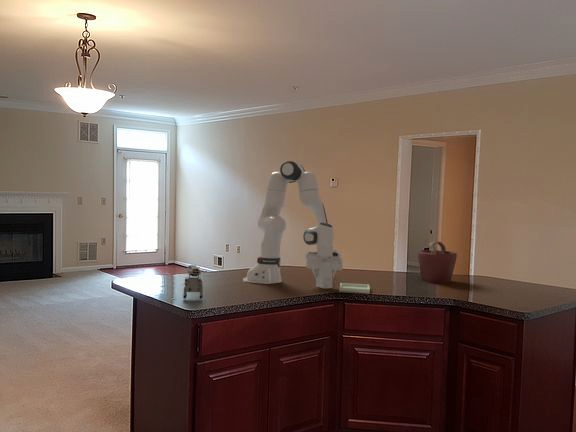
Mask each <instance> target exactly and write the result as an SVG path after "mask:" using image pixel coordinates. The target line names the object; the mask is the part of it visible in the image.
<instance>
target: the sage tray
mask: <svg viewBox="0 0 576 432" xmlns="http://www.w3.org/2000/svg"><path fill="white" fill-rule="evenodd" d="M338 290H339V293H349V294H350V293H351V294H352V293H354V294H368V295H369V294H371V288H370V284H368V283H367V284H365V283H347V282H346V283H345V282H340V283H339V289H338Z"/></svg>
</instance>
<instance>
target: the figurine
mask: <svg viewBox="0 0 576 432" xmlns="http://www.w3.org/2000/svg"><path fill="white" fill-rule="evenodd" d="M186 271H187V273H188V276H187V277H185V278H184V287H183V295H182V298H183V299H187V295H188V294H187V293H199V299H203V297H204V294H203V288H204V287H203V286H204V285H203V280H202V278H200V275H201V274H202V271H201V269H200V266H197V265H194V264H190V265H188V267H187V268H186Z"/></svg>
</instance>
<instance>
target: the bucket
mask: <svg viewBox="0 0 576 432" xmlns="http://www.w3.org/2000/svg"><path fill="white" fill-rule="evenodd" d="M436 244H438V246H439V248H440V249H439V250H437V249H436V247H435V245H436ZM428 246H429V248H430V249H421V250H419V251H418V254H417V256H418V264H419V270H420V278H421V281H422V282H425V283H429V284H440V285H441V284H442V285H444V284H450V283H451V281H452V277H453V272H454V270H455V265H456V261H457V259H458V258H457V257H458V255H457V254H458V253H457V252H453V251H448V250H447V249H446V246H445V244H444V243H443V242H442V241H436V240H434V241H431V242H430V243H429V244H428Z"/></svg>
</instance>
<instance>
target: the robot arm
mask: <svg viewBox="0 0 576 432" xmlns="http://www.w3.org/2000/svg"><path fill="white" fill-rule="evenodd" d="M279 170H280V171H273V172H272V173H271V174H270V176H269V179H268V181H267V182H268V183H267V187H266V193H265V199H264V204H263V207H262V210H261V214H260V216H259V217H258V220H257V227H258V228H259V229H260V231H262V232H263V233H264V234H263V239H262V241H261V244H260V256H258V257H257V258H256V264H255V265H253V266H252V267H250V268H249V269H248V271H247V272H246V273H247V274H246V277H243V278H242V282H244V283H253V284H263V285H269V284H270V285H271V284H278V283H279V284H280V283H282V282H283V281H282V277H281V275H282V274H281V261H282V260H281V244H282V243H281V242H282V237H283V234H284V231H285V230H286V227H287V223H286V220H285V219H284V218H283V217H281V216H280V213H281V211H282V209H283V208H284V205H285V201H286V199H285V198H286V191H287V185H288V184H292V183H297V185H298V195H299V196H298V197H299V199H300V202H301V204H302V205H304V206H305V207H306V208H308V209H309V210H311V211H312V212H313V213H314V217H315V219H316V224H317V225H316V226H314V227H313V226H312V227H310V228H307V229H306V230H304V232H303V234H302V235H303V236H302V237H303V238H302V239H303V241H304V243H305V244H306V245H308V246H316V251H309V252H307V253H306V254H305V259H306V265H305V267H306V269H310V270H311V271H312V273H313V278H316V277H317V274H316V269H320V261H331V262H332V263H331V269H332V271H333V273H332V279H334V278H335V274H337V271H342V270H343V258H342V257H341V256H342V253H341V251H337V250H334V245H333V242H334V227H333V225H332V224H330V223H328V222H329V221H328V219H327V213H326V209H325V205H324V203H323V201H322V199H321V196H320V192H319V184H318V180H317V177H316V175H315V173H314V172H312V171H305V168H304V167H303V165H301V164H300V163H299V162H298V161H294V160H286V161H284V162H283V163H282V164H281V165H280V168H279Z"/></svg>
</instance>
